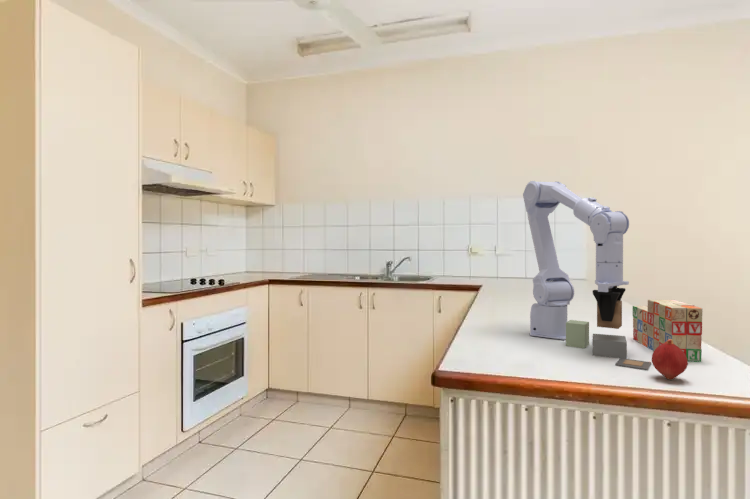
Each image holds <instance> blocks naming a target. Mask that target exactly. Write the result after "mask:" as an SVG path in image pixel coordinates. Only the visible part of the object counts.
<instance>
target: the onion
mask: <svg viewBox="0 0 750 499" xmlns="http://www.w3.org/2000/svg"><path fill="white" fill-rule="evenodd" d="M651 364H652V366H653V367H654V369H655V370H656V371H657V372H658V373H660V374H661V375H662V376H663V377H665V379H666V380H674V379H675V378H676V377H678V376H680V375H682V374H683V373H684V372H685V371H686V370H687V368H688V364H689V362H688V360H687V357H686V355H685V353H684V352H683V351H682V350H681V349H680V348H679V347H678V346H676V345H675V344H674V343H673V340H672V339H668V340H667V341H666V342H665V343H663V344H661V345H659V346H658V347H657V348H656V349H655V351H653V352H652V354H651Z"/></svg>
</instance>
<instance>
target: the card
mask: <svg viewBox="0 0 750 499" xmlns="http://www.w3.org/2000/svg"><path fill="white" fill-rule="evenodd" d="M614 364H615V366H616V367H623V368H629V369H637V370H643V371H649V369H650V367H651V365H652V361H644V360H638V359H630V358H627V359H625V358H618V359H617V361H616V362H615V363H614Z"/></svg>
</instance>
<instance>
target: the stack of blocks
mask: <svg viewBox="0 0 750 499" xmlns="http://www.w3.org/2000/svg"><path fill="white" fill-rule="evenodd" d="M632 329H633V330H632V332H633V334H632V335H633V336H632V338H633V340H635V341H636V342H638V343H639V344H641V345H643V346H644V347H646V348H648V349H650V350H652V351H653V352H654V351H655V349H656V348H657V347H658V346H659V345H661V344H663V343H665V342H666V341H667V340H668V339H672V340H673V343H674V344H675V345H676V346H678V347H679V348H680V349H681V350H682V351H683V352H684V353H685V355H686V357H687V360H688V361H694V362H693V363H702V340H703V338H702V336H703V308H702V307H699V306H695V304H691V303H688V302H683V301H680V300H676V299H647V305H632Z"/></svg>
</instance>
